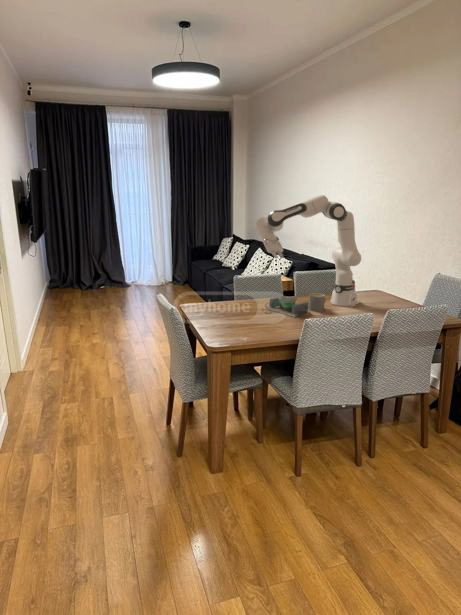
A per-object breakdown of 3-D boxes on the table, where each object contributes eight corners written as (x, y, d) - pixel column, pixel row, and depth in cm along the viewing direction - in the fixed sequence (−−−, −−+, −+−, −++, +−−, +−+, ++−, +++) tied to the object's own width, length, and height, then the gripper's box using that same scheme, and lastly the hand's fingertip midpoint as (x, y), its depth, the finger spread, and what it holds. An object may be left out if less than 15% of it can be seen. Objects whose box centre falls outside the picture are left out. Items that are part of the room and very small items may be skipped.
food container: (279, 313, 283) (280, 298, 280) (277, 310, 289) (278, 295, 286) (298, 312, 285) (299, 298, 282) (295, 310, 291) (296, 295, 288)
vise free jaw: (283, 303, 300) (283, 295, 299) (286, 304, 298) (286, 296, 297) (269, 306, 291) (269, 298, 289) (272, 307, 289) (273, 299, 288)
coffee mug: (315, 312, 287) (316, 297, 284) (305, 308, 295) (306, 294, 293) (330, 310, 294) (332, 295, 291) (320, 306, 302) (322, 292, 299)
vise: (282, 305, 302) (283, 295, 300) (310, 312, 286) (310, 302, 284) (267, 309, 291) (267, 298, 289) (294, 317, 275) (295, 306, 274)
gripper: (267, 236, 277) (277, 255, 275) (279, 238, 295) (289, 255, 293) (259, 241, 280) (269, 260, 278) (271, 243, 298) (281, 260, 296)
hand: (279, 258), depth 286 cm, fingers open, 8 cm apart
